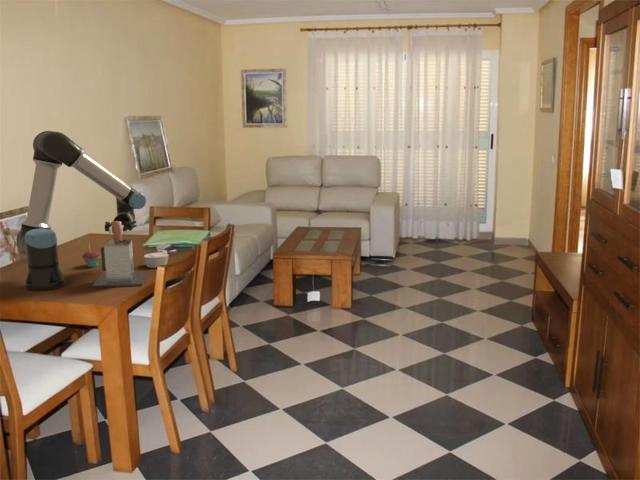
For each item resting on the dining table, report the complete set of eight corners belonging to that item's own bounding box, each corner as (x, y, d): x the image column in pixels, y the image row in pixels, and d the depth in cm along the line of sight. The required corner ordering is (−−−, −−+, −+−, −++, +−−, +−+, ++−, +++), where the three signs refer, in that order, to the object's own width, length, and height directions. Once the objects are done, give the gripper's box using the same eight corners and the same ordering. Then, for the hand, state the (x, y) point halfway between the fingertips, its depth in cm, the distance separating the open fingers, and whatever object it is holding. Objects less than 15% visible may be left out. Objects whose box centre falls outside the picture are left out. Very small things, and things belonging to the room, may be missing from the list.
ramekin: (139, 267, 286) (138, 256, 285) (154, 262, 297) (153, 251, 296) (159, 269, 282) (158, 258, 281) (173, 264, 293) (172, 253, 292)
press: (92, 288, 252) (89, 248, 248) (100, 275, 271) (97, 238, 268) (142, 285, 255) (139, 246, 252) (147, 273, 275) (144, 236, 271)
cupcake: (95, 268, 284) (93, 243, 282) (79, 267, 286) (77, 242, 283) (105, 263, 292) (103, 239, 290) (89, 263, 294) (87, 238, 292)
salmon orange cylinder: (115, 277, 261) (111, 222, 256) (116, 275, 264) (113, 221, 259) (124, 277, 261) (120, 222, 256) (125, 275, 265) (121, 221, 260)
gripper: (142, 229, 278) (136, 239, 255) (104, 230, 275) (95, 240, 253) (141, 212, 277) (135, 221, 254) (103, 214, 274) (93, 223, 251)
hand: (115, 231), depth 253 cm, fingers closed on salmon orange cylinder, 4 cm apart
